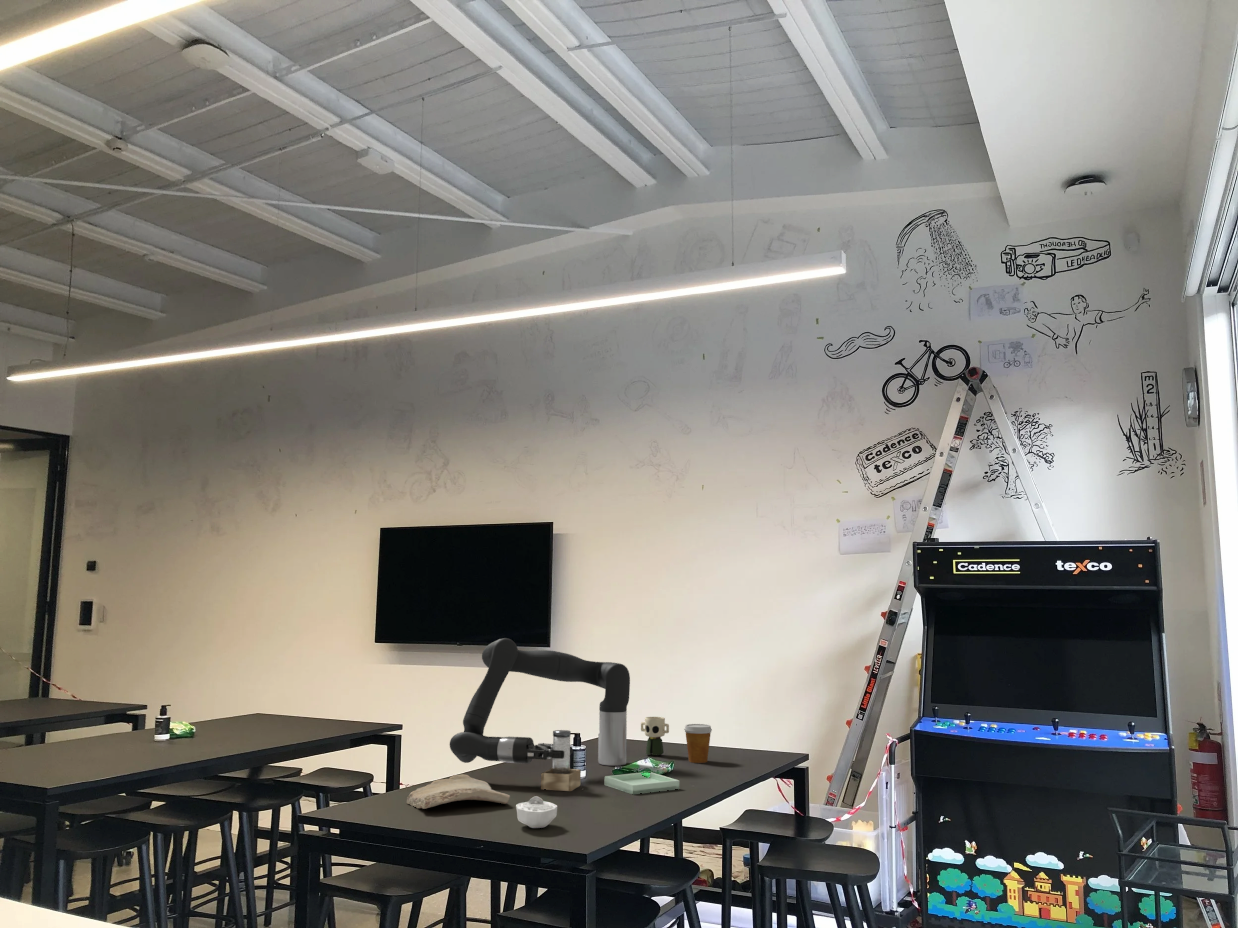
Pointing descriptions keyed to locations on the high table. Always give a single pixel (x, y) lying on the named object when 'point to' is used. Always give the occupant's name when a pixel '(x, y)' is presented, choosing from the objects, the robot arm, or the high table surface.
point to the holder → (560, 780)
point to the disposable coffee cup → (698, 742)
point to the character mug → (654, 734)
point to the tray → (641, 783)
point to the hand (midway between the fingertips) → (568, 752)
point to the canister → (563, 743)
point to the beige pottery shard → (454, 792)
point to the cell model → (536, 812)
